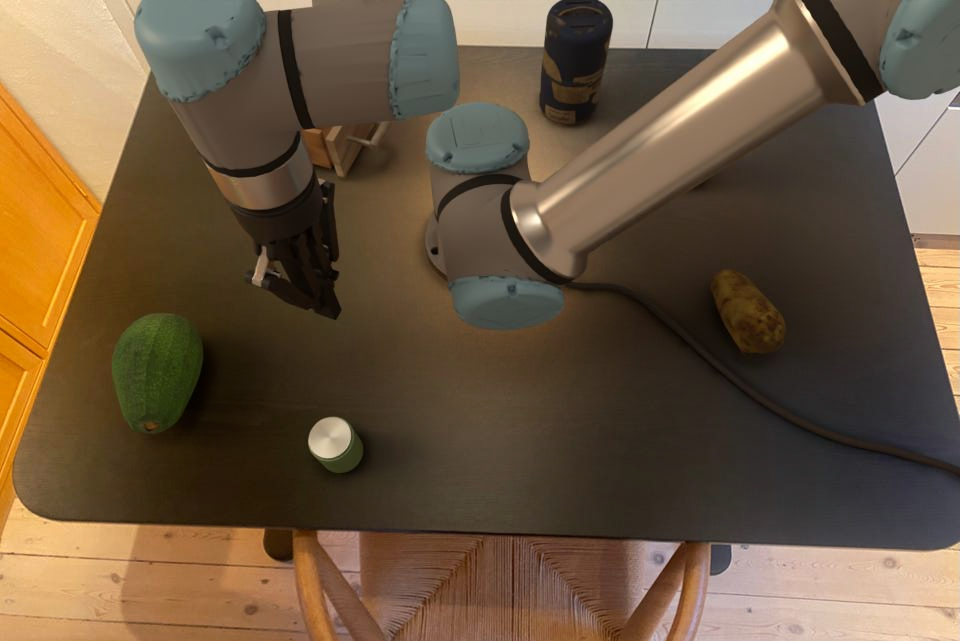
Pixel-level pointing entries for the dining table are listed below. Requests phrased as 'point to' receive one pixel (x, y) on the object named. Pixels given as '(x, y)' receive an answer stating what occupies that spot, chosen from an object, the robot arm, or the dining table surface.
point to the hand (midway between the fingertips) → (328, 311)
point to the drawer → (342, 144)
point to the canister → (574, 59)
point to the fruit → (156, 370)
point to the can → (335, 444)
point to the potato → (747, 313)
